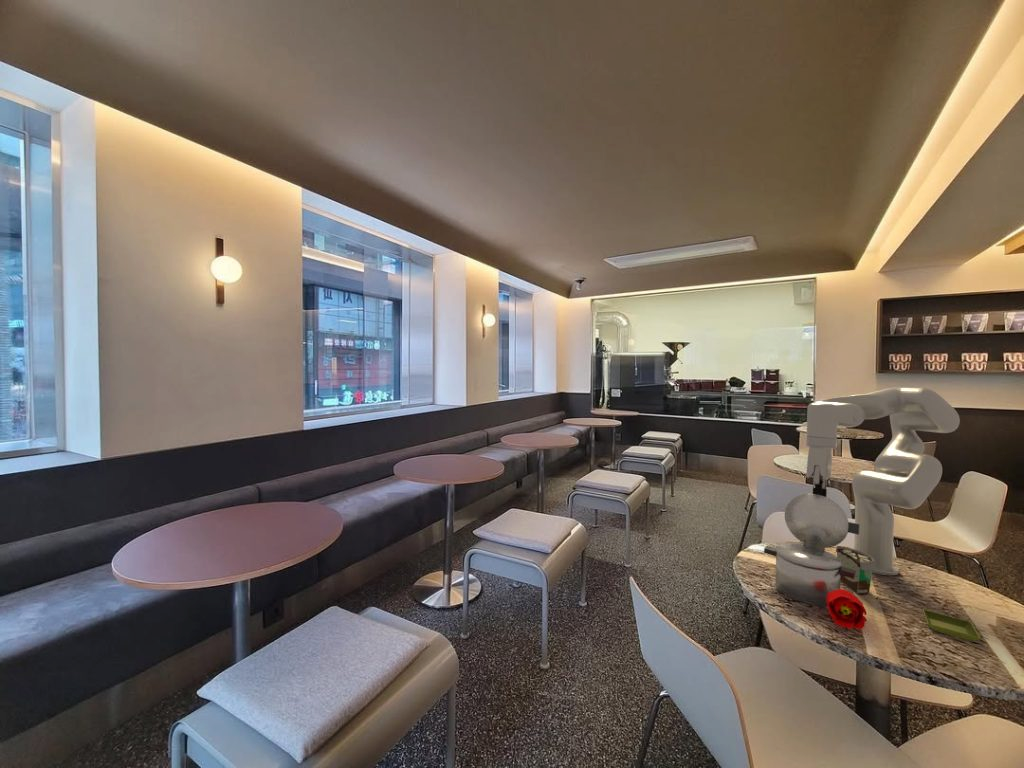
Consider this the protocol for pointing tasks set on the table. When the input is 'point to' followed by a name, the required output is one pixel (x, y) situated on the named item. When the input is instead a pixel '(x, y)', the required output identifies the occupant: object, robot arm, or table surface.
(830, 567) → the cooker pot
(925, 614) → the green shallow tray
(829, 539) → the cooker lid
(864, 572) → the food container
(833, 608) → the flower
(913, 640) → the table surface
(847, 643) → the table surface
